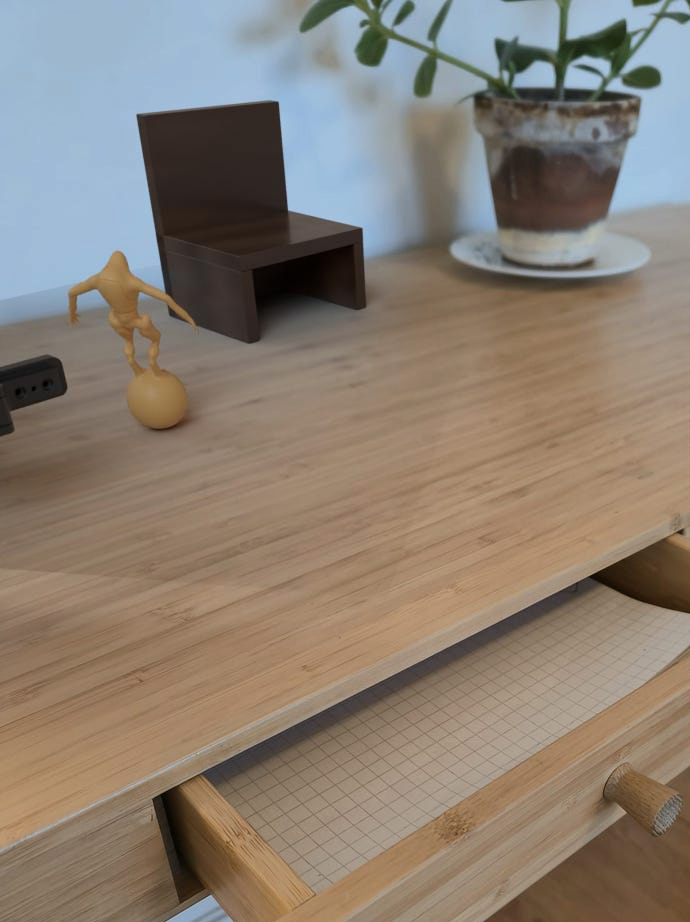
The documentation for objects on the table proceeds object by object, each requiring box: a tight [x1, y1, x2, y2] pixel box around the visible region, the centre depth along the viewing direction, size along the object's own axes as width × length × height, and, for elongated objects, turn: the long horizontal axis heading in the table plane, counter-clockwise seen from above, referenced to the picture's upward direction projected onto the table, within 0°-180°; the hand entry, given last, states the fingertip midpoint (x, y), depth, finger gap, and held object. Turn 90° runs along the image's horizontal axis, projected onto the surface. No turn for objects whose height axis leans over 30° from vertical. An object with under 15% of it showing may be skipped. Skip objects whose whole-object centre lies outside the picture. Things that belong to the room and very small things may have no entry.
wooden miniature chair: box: [135, 99, 367, 344], centre depth 83 cm, size 11×14×16 cm
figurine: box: [67, 250, 200, 430], centre depth 62 cm, size 8×6×12 cm
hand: (21, 355), depth 56 cm, fingers open, 8 cm apart
